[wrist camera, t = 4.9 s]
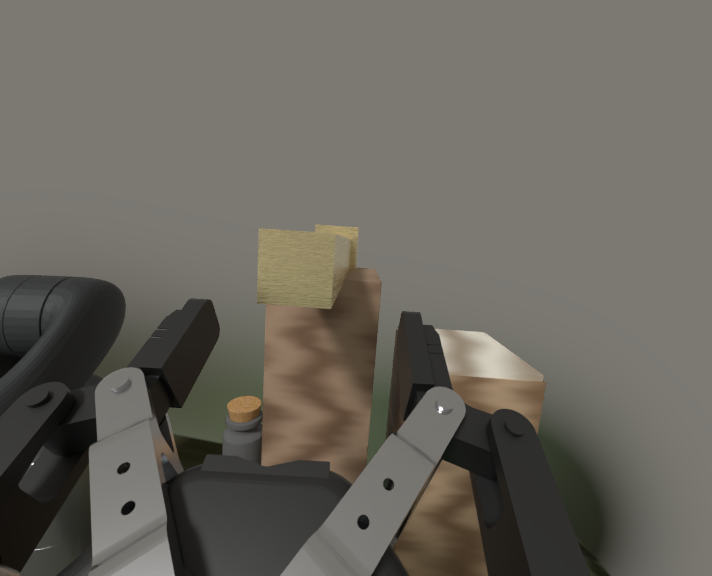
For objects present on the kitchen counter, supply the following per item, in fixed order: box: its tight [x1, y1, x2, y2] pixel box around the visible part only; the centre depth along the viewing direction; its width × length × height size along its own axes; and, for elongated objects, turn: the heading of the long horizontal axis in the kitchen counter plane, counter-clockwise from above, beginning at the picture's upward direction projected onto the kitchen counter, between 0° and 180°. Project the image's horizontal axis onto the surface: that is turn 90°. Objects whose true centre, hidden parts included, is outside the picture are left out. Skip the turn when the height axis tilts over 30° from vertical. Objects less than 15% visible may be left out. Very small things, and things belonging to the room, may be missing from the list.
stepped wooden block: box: [261, 268, 546, 576], centre depth 36 cm, size 26×14×36 cm, turn 89°
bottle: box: [222, 396, 263, 465], centre depth 46 cm, size 6×6×15 cm
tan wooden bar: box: [257, 225, 359, 309], centre depth 27 cm, size 5×26×5 cm, turn 179°
